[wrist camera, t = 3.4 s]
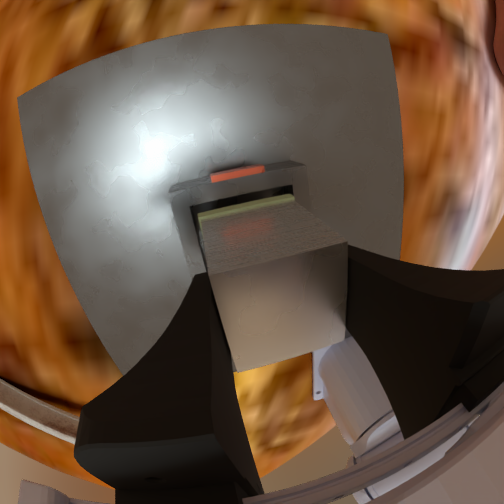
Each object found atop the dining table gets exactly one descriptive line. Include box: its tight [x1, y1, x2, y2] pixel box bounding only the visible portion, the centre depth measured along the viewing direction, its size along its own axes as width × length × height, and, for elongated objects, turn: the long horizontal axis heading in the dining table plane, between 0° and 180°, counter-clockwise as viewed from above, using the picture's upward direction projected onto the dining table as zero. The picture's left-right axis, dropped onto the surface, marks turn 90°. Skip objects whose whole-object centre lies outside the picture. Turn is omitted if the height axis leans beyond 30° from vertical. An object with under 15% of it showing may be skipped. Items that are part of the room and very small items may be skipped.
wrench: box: [0, 379, 80, 444], centre depth 19 cm, size 8×2×30 cm
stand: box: [17, 24, 404, 376], centre depth 15 cm, size 22×22×4 cm
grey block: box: [198, 194, 348, 373], centre depth 11 cm, size 4×4×5 cm
